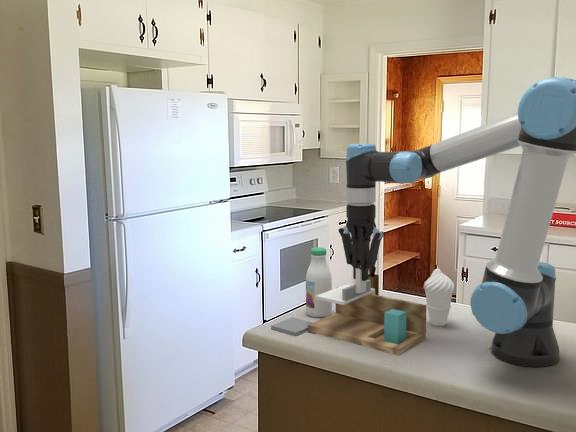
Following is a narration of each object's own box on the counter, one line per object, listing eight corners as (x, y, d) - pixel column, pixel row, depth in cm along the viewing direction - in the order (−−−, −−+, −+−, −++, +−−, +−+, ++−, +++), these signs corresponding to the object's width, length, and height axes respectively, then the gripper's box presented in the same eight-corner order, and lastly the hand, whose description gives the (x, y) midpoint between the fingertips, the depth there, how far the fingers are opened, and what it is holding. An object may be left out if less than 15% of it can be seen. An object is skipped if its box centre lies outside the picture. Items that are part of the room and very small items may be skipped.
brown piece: (425, 340, 148) (426, 305, 147) (398, 357, 138) (398, 319, 136) (338, 318, 166) (337, 287, 165) (308, 331, 156) (307, 298, 154)
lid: (374, 316, 159) (375, 278, 157) (343, 331, 148) (343, 290, 146) (348, 310, 165) (348, 273, 163) (315, 324, 154) (315, 284, 152)
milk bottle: (332, 310, 174) (331, 245, 171) (331, 318, 167) (331, 251, 164) (307, 309, 175) (306, 245, 172) (305, 318, 167) (304, 251, 164)
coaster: (316, 327, 160) (316, 323, 159) (296, 336, 153) (295, 332, 153) (292, 320, 165) (292, 317, 165) (271, 329, 159) (271, 325, 158)
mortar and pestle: (357, 309, 175) (357, 251, 172) (376, 306, 177) (377, 249, 174) (367, 315, 169) (367, 256, 166) (386, 313, 170) (387, 254, 168)
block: (405, 341, 146) (406, 311, 145) (398, 346, 143) (398, 315, 142) (392, 338, 149) (392, 308, 148) (384, 342, 146) (384, 312, 145)
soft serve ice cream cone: (459, 327, 157) (461, 270, 155) (434, 331, 154) (435, 274, 152) (441, 318, 165) (442, 264, 163) (416, 322, 162) (417, 267, 160)
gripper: (390, 203, 146) (389, 292, 150) (348, 200, 155) (348, 284, 158) (374, 207, 141) (374, 299, 144) (332, 203, 149) (332, 290, 153)
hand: (360, 291), depth 151 cm, fingers closed
